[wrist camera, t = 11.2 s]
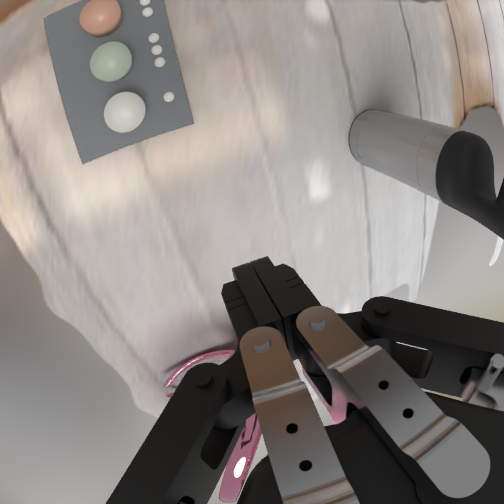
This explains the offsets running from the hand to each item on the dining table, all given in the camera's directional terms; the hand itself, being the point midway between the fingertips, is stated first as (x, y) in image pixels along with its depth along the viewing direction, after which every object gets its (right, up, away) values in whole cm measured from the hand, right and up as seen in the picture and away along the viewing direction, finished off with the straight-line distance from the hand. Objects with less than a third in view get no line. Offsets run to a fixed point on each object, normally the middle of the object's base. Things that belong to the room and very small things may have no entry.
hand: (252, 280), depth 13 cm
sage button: (-15, +22, +14) cm, 30 cm away
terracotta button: (-16, +27, +11) cm, 33 cm away
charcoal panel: (-16, +23, +16) cm, 32 cm away
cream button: (-14, +17, +17) cm, 28 cm away
